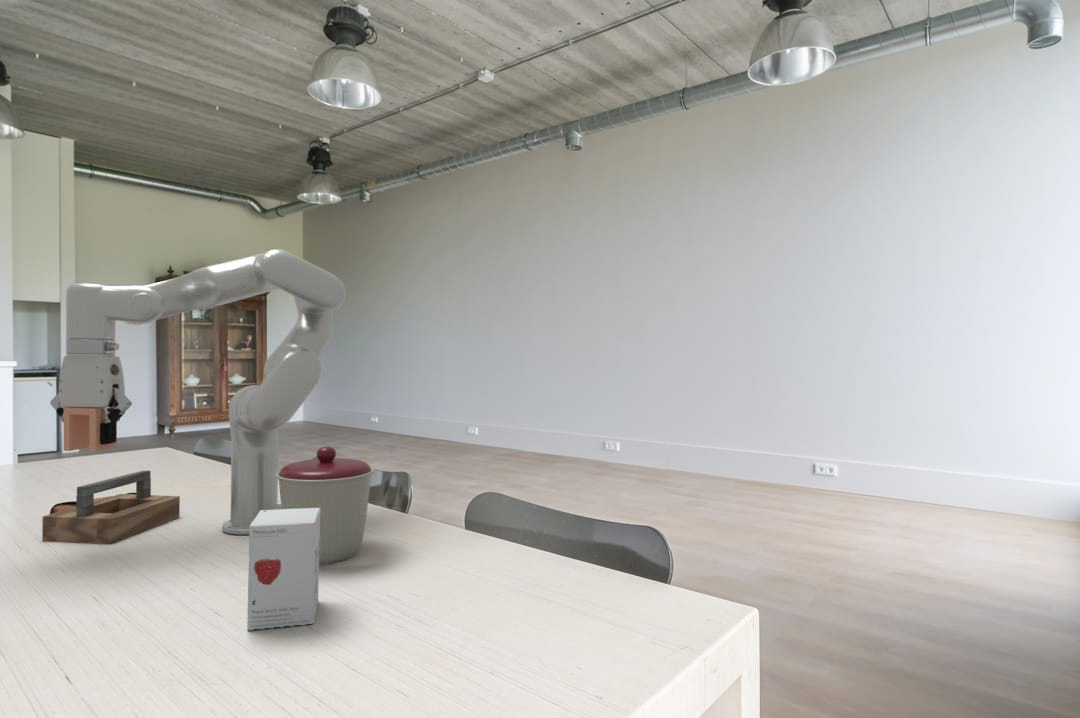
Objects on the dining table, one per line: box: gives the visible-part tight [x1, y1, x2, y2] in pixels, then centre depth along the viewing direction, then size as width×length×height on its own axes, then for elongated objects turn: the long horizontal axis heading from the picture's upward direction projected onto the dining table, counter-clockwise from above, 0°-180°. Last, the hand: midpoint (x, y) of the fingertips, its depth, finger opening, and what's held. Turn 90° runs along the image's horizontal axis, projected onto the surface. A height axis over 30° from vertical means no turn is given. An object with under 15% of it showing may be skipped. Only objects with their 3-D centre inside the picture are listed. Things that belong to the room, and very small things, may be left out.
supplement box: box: [246, 508, 321, 631], centre depth 89 cm, size 9×9×15 cm
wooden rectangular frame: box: [41, 470, 181, 545], centre depth 131 cm, size 15×20×11 cm
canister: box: [275, 446, 376, 565], centre depth 115 cm, size 18×18×21 cm
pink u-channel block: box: [63, 406, 118, 452], centre depth 114 cm, size 6×5×8 cm
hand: (90, 442), depth 114 cm, fingers closed on pink u-channel block, 6 cm apart
